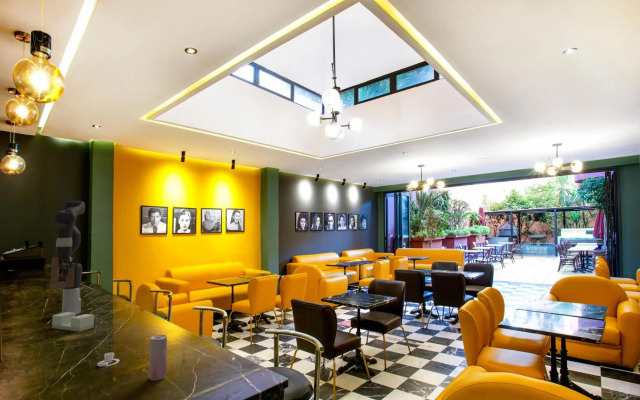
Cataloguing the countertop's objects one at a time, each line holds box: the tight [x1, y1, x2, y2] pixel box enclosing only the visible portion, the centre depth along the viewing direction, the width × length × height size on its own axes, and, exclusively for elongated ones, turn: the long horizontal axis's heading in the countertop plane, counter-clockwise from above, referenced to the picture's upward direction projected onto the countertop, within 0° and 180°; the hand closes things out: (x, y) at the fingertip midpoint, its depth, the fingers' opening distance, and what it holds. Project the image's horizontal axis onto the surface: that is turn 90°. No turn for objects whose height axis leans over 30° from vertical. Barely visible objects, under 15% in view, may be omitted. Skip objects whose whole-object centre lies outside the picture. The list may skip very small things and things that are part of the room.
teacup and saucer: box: [97, 351, 120, 367], centre depth 141 cm, size 9×8×4 cm
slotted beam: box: [51, 312, 95, 332], centre depth 191 cm, size 8×22×7 cm, turn 71°
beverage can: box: [148, 334, 168, 382], centre depth 127 cm, size 6×6×15 cm
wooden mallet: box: [48, 256, 76, 290], centre depth 194 cm, size 4×11×18 cm, turn 139°
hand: (62, 275), depth 194 cm, fingers closed on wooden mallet, 4 cm apart
